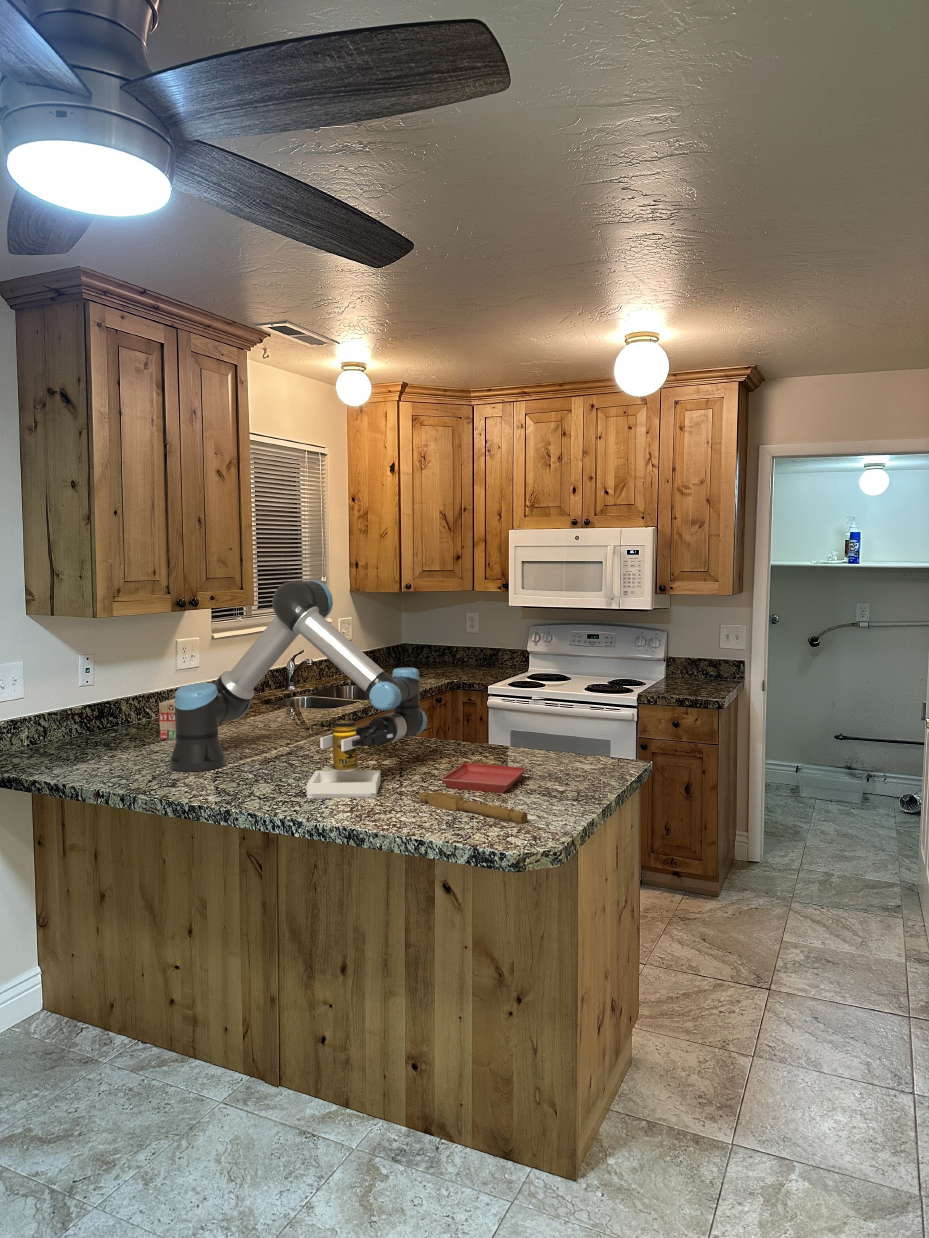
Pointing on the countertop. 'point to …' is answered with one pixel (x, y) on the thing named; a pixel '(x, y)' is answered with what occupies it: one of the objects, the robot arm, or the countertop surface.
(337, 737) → the condiment
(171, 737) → the stack of blocks
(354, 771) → the tray
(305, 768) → the countertop surface
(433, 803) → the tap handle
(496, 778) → the plant saucer
